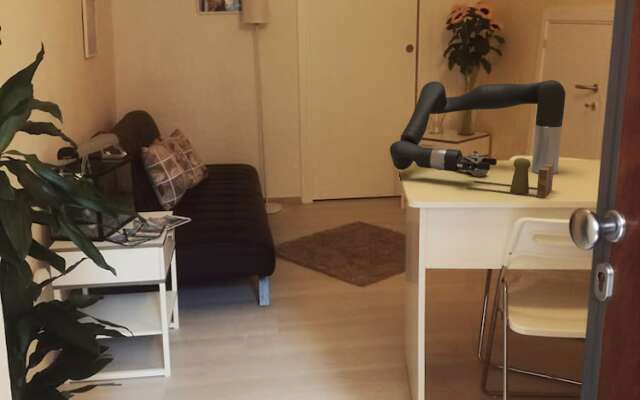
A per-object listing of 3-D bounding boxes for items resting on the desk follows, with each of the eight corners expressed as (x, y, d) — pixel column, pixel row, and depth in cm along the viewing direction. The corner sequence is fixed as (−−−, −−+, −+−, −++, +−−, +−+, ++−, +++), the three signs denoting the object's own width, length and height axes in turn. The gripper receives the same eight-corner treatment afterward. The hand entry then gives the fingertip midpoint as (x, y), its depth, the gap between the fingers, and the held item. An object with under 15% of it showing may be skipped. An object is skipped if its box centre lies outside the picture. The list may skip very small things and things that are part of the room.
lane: (475, 181, 247) (476, 155, 245) (551, 190, 236) (554, 163, 233) (465, 188, 237) (466, 162, 235) (544, 198, 225) (547, 170, 223)
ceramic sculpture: (470, 154, 249) (452, 149, 263) (468, 178, 251) (451, 172, 265) (497, 153, 251) (478, 148, 266) (496, 177, 253) (477, 171, 267)
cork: (529, 194, 228) (532, 160, 226) (510, 192, 229) (513, 158, 227) (528, 191, 234) (531, 158, 232) (509, 189, 235) (512, 156, 233)
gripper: (452, 166, 251) (497, 171, 244) (438, 174, 239) (486, 179, 232) (453, 145, 249) (499, 149, 242) (439, 152, 237) (488, 157, 230)
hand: (493, 164), depth 237 cm, fingers open, 8 cm apart
